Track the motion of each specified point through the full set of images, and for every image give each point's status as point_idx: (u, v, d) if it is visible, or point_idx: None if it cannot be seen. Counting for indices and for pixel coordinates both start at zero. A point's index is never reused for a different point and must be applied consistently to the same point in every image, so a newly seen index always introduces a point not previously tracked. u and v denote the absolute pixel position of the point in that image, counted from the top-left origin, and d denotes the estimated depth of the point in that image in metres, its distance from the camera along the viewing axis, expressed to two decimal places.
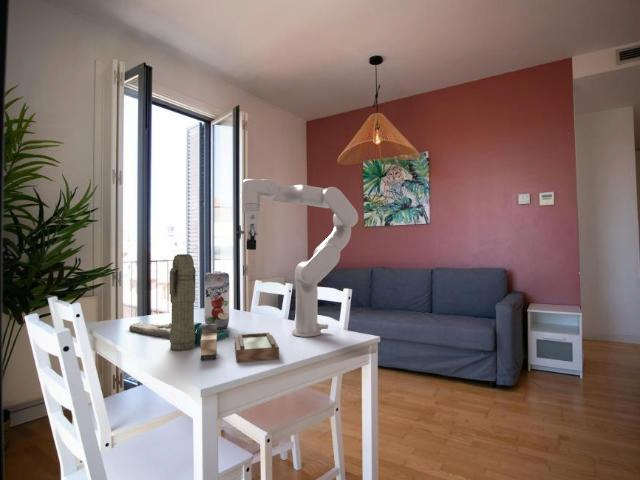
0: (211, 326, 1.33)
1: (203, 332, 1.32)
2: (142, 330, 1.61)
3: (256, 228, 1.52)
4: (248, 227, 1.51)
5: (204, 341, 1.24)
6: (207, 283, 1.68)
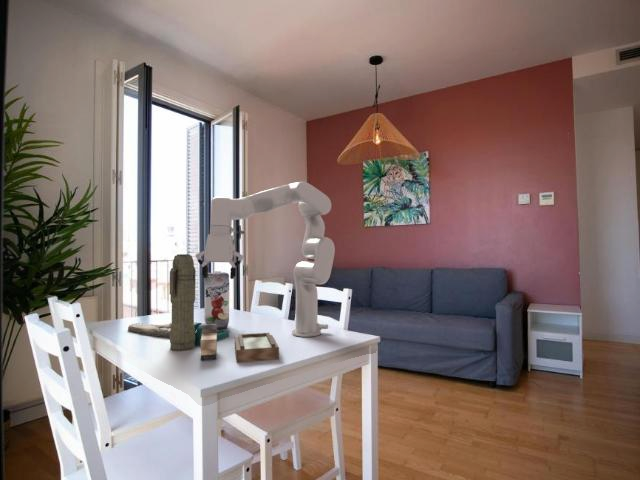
0: (211, 326, 1.33)
1: (203, 332, 1.32)
2: (142, 330, 1.60)
3: None
4: (232, 253, 1.34)
5: (204, 341, 1.24)
6: (207, 283, 1.68)
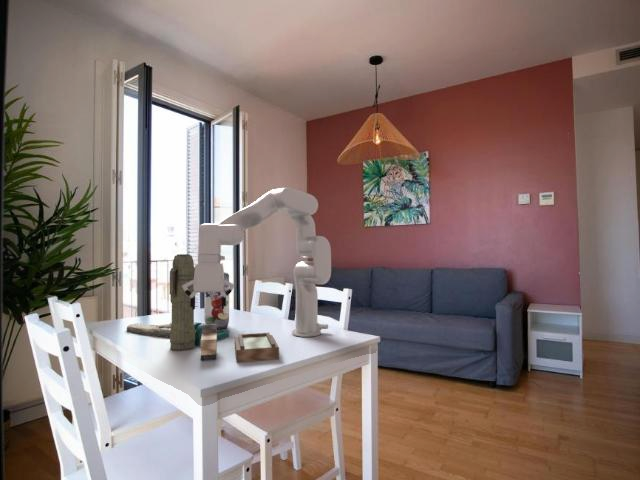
0: (211, 326, 1.33)
1: (203, 332, 1.32)
2: (142, 330, 1.60)
3: None
4: (223, 282, 1.29)
5: (204, 341, 1.24)
6: None
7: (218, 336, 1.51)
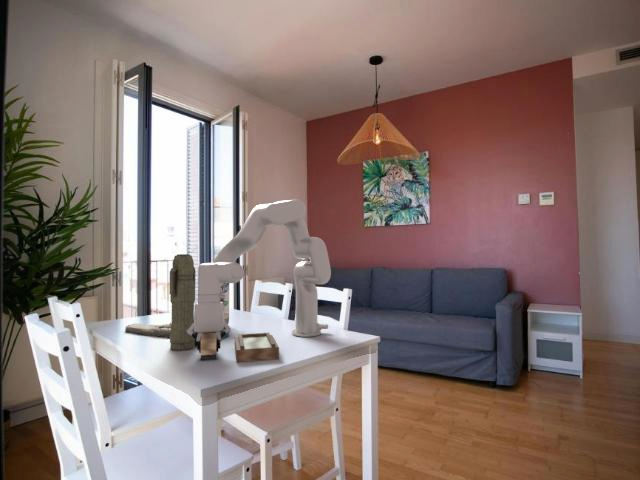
0: None
1: None
2: (141, 331, 1.60)
3: None
4: (223, 322, 1.29)
5: (204, 341, 1.24)
6: None
7: None
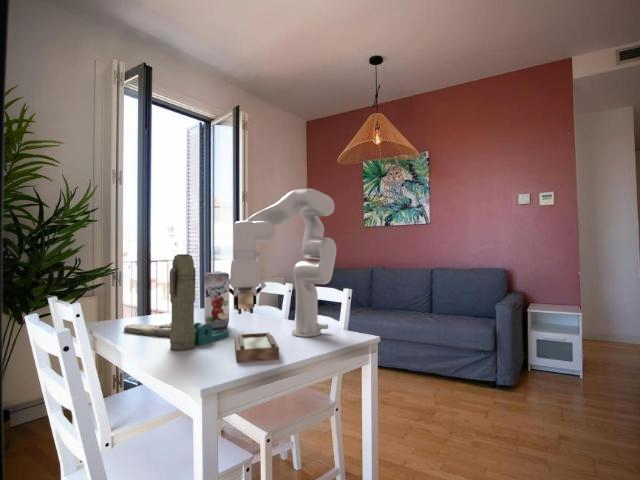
0: None
1: (238, 289, 1.36)
2: (141, 331, 1.59)
3: None
4: (259, 278, 1.32)
5: (241, 295, 1.27)
6: (207, 283, 1.68)
7: (218, 336, 1.51)
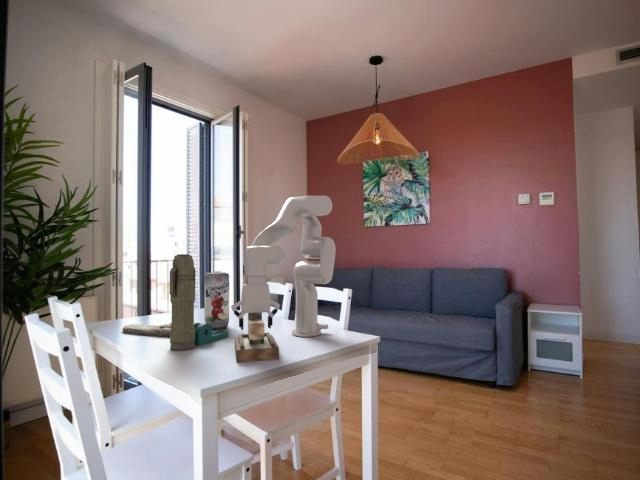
0: None
1: (249, 318, 1.37)
2: (141, 331, 1.59)
3: None
4: (270, 303, 1.33)
5: (253, 326, 1.28)
6: (207, 283, 1.68)
7: (217, 336, 1.51)
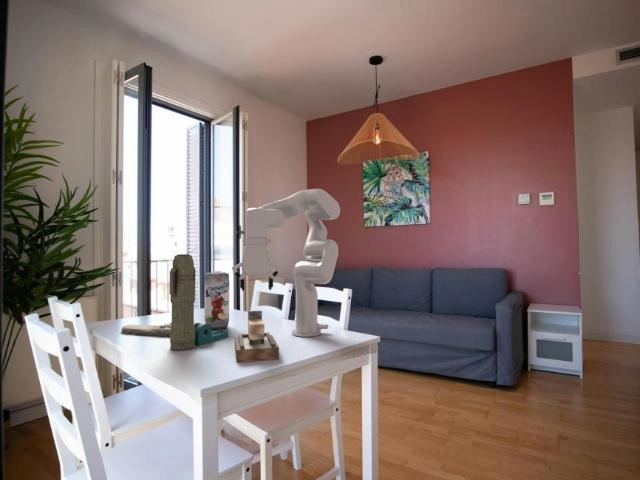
0: (257, 312, 1.37)
1: (249, 318, 1.37)
2: (141, 331, 1.59)
3: None
4: (270, 264, 1.34)
5: (253, 326, 1.28)
6: (207, 283, 1.68)
7: (217, 336, 1.51)
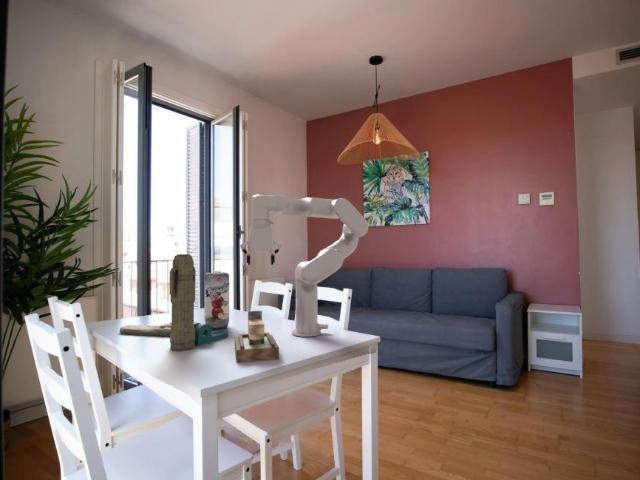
0: (257, 312, 1.37)
1: (249, 318, 1.37)
2: (141, 331, 1.58)
3: None
4: (272, 243, 1.57)
5: (253, 326, 1.28)
6: (207, 283, 1.68)
7: (217, 336, 1.51)
